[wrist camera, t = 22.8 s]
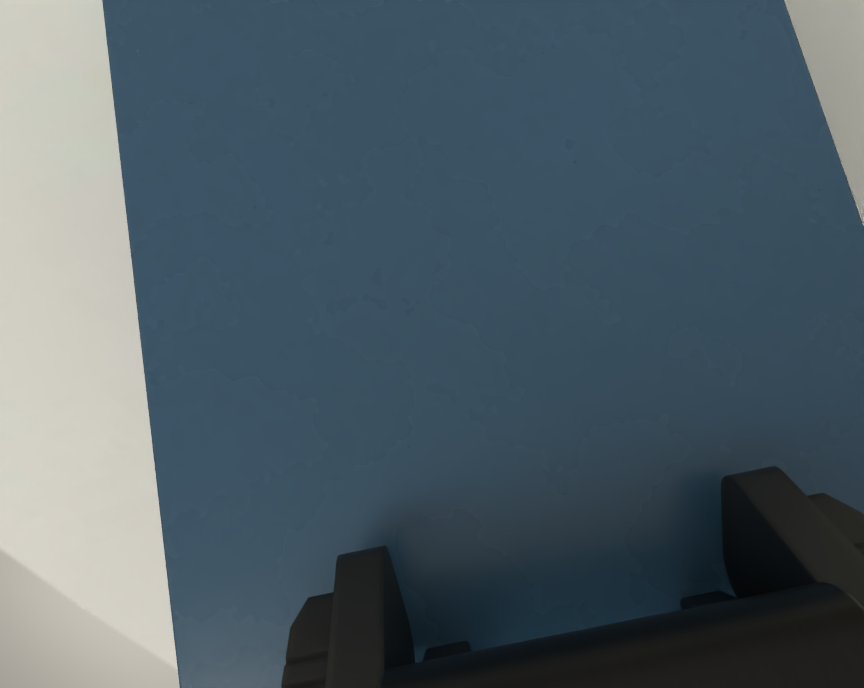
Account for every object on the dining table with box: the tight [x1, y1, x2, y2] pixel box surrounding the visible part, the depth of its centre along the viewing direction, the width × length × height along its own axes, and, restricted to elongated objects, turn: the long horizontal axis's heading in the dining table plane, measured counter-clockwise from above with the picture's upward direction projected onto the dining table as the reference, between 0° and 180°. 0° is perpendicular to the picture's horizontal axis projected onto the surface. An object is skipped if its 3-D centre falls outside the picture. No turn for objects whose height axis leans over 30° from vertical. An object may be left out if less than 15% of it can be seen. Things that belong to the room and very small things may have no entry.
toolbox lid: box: [102, 0, 864, 688], centre depth 10 cm, size 18×13×5 cm
